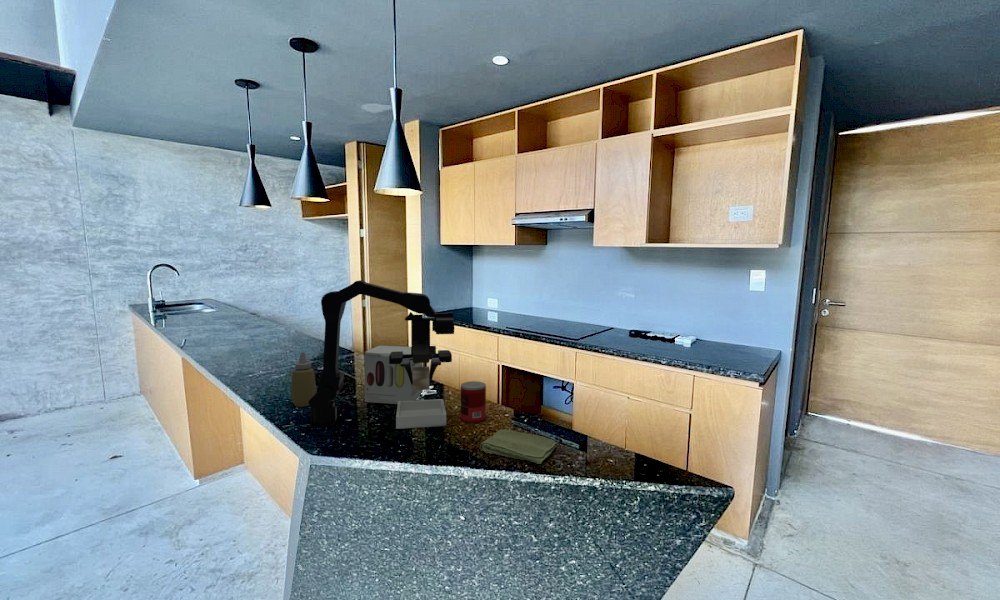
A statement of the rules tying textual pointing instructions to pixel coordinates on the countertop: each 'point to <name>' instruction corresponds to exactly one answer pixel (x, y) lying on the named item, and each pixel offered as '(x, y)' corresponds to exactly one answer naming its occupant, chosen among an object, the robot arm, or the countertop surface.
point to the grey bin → (420, 414)
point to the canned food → (473, 401)
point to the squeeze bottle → (303, 382)
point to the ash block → (421, 378)
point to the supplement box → (388, 377)
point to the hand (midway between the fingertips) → (420, 384)
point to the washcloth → (519, 446)
